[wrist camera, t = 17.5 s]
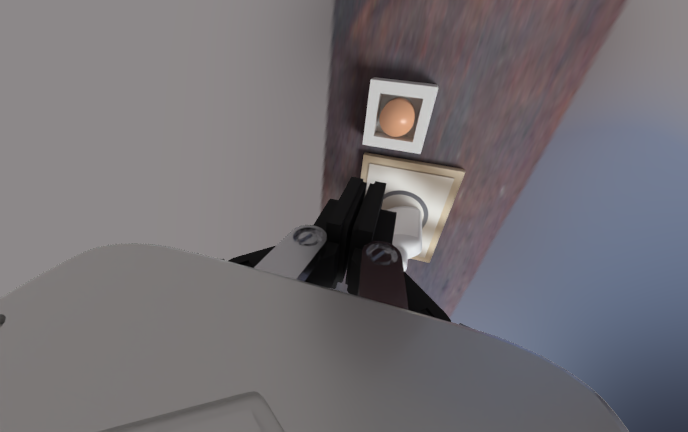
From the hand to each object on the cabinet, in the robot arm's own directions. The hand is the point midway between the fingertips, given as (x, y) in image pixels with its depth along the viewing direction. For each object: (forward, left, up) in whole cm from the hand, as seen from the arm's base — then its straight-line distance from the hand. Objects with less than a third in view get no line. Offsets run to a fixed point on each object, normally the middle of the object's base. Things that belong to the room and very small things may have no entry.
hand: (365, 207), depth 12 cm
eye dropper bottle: (-13, +4, -21) cm, 25 cm away
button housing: (0, 0, -22) cm, 22 cm away
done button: (0, 0, -21) cm, 21 cm away
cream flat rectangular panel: (-13, +4, -22) cm, 26 cm away
